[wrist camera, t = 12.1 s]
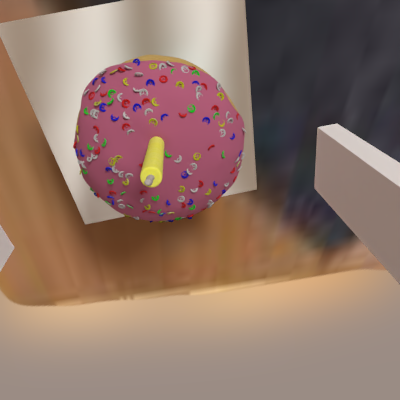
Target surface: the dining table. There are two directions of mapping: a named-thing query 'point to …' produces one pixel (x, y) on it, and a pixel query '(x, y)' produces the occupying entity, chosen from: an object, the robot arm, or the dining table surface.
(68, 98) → the white box
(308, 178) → the dining table surface
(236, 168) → the cupcake
